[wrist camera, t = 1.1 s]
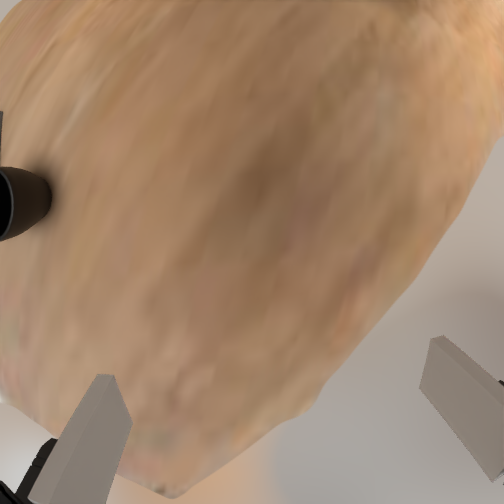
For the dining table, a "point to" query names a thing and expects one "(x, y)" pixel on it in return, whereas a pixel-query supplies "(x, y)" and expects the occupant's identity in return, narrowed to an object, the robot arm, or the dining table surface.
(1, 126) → the slate board
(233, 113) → the dining table surface
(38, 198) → the mug
